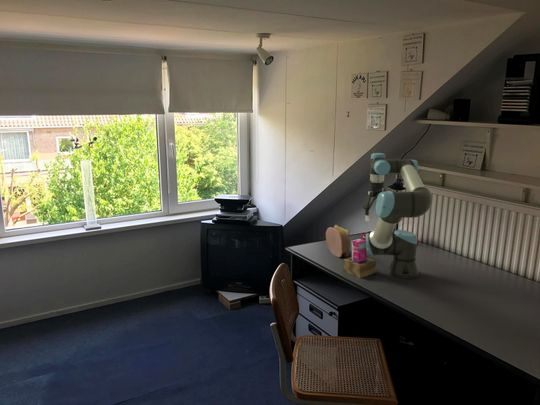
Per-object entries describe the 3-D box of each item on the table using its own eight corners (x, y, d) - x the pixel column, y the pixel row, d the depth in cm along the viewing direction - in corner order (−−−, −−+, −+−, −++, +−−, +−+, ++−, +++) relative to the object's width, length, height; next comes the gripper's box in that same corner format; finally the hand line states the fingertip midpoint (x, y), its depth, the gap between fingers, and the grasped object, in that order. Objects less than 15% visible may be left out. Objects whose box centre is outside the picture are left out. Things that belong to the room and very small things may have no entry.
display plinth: (375, 272, 238) (375, 260, 237) (359, 278, 231) (360, 265, 230) (358, 266, 248) (359, 255, 246) (343, 271, 241) (343, 259, 239)
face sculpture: (351, 258, 260) (352, 231, 257) (341, 260, 258) (342, 232, 254) (332, 248, 278) (333, 223, 274) (323, 250, 275) (323, 224, 271)
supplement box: (351, 260, 239) (351, 240, 237) (360, 259, 242) (359, 238, 240) (358, 263, 234) (357, 242, 232) (367, 261, 237) (366, 240, 235)
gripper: (384, 177, 253) (382, 213, 258) (357, 183, 238) (355, 221, 243) (395, 179, 248) (393, 215, 253) (368, 185, 232) (366, 224, 237)
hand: (375, 218), depth 248 cm, fingers open, 13 cm apart
